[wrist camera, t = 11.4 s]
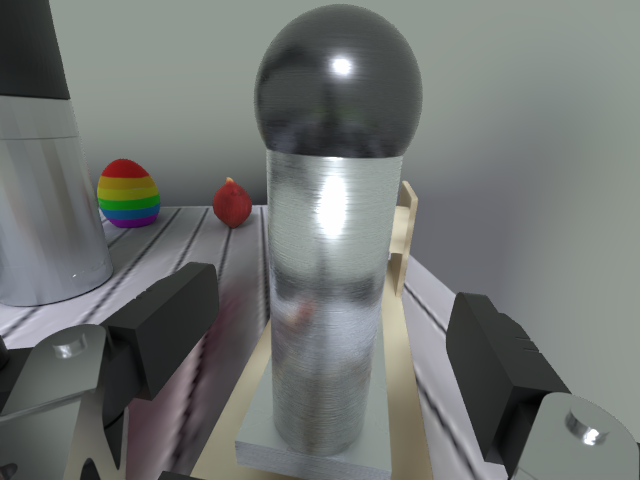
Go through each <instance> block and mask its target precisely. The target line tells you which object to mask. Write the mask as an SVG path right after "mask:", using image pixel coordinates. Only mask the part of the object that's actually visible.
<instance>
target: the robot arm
mask: <svg viewBox="0 0 640 480" xmlns="http://www.w3.org/2000/svg"><path fill="white" fill-rule="evenodd" d="M68 99H70V95H69V91H68V87H67V83H66V79H65V74H64V69H63V64H62V59H61V55H60V51H59V46H58V43H57V38H56V34H55V29H54V25H53V20H52V15H51V11H50V5H49V0H0V303H2V304H4V305H10V306H34V305H42V304H48V303H53V302H57V301H61V300H65V299H68V298H71V297H74V296H77V295H80V294H83V293H85V292H87V291H90V290H92V289H94V288H96V287H97V286H99V285H101V284H102V283H104V282H105V281H106V280H107V279H108V278H109V277H110V276H111V275H112V273H113V266H112V262H111V258H110V254H109V250H108V246H107V242H106V238H105V234H104V230H103V226H102V222H101V218H100V214H99V210H98V206H97V202H96V198H95V194H94V190H93V186H92V182H91V178H90V174H89V170H88V166H87V162H86V158H85V154H84V150H83V147H82V142H81V139H80V136H79V131H78V127H77V123H76V119H75V115H74V111H73V107H72V103H71V101H70V100H68ZM218 311H219V295H218V285H217V276H216V269H215V266H214V265H213V264H207V263H198V262H189V263H187V264H186V265H185V266H184V267H182V268H181V269H180V270H178V271H177V272H176V273H175V274H172V275H170V276H168V277H165V278H163V279H161V280H158V281H157V282H155V283H154V284H153V285H151V286H150V287H149V288H147V289H146V291H143V292H142V293H141V294H139V295H138V296H137V297H136V299H133V300H131V301H130V302H129V303H127V304H126V305H125V306H123V307H122V308H120V309H119V310H118V311H116V312H115V313H114V314H112V315H111V316H110V317H108V318H107V319H106V320H104V321H103V322H102V323H100V324H99V325H95V324H84V325H77V326H73V327H69V328H66V329H63V330H61V331H58V332H56V333H54V334H52V335H50V336H48V337H47V338H45V339H44V340H42V341H41V342H39V343H38V344H37V345H36V346H35V347H30V348H20V349H9V350H7V348H6V346H5V344H4V342H3V339H2V337H1V335H0V480H125V473H126V455H127V438H128V420H129V411H128V408H127V405H128V404H129V403H130V402H131V401H132V399H133V398H138V399H144V400H150V401H152V400H153V399H154V398H155V396H156V395H157V394H158V392H159V391H160V390H161V389H162V387H163V386H164V385H165V383H166V382H167V381H168V380H169V378H170V377H171V376H172V375H173V373H174V372H175V371H176V369H177V368H178V367H179V366H180V364H181V363H182V362H183V360H184V359H185V358H186V357H187V355H188V354H189V353H190V351H191V350H192V349H193V348H194V346H195V345H196V344H197V343H198V341H199V340H200V339H201V337H202V336H203V335H204V334H205V332H206V331H207V330H208V328H209V327H210V326H211V325H212V323H213V322H214V321H215V319H216V317H217V314H218ZM446 350H447V354H448V357H449V360H450V363H451V366H452V369H453V372H454V375H455V377H456V380H457V383H458V386H459V389H460V392H461V395H462V398H463V401H464V404H465V407H466V409H467V412H468V415H469V418H470V421H471V424H472V427H473V430H474V433H475V436H476V438H477V441H478V444H479V447H480V450H481V453H482V456H483V459H484V462H490V463H496V464H501V465H504V466H505V469H506V471H507V474H508V479H507V480H640V443H637V442H636V441H635V439H634V437H633V436H632V435H631V433H630V432H629V431H628V429H627V428H626V427H625V426H624V425H623V424H622V423H621V422H620V421H618V420H617V419H616V418H615V417H614V416H612V415H611V414H610V413H608V412H607V411H605V410H604V409H602V408H601V407H599V406H597V405H596V404H594V403H592V402H590V401H588V400H586V399H583V398H581V397H578V396H575V395H572V393H571V392H570V391H569V389H568V388H567V387H566V386H565V384H564V383H563V381H562V380H561V379H560V377H559V376H558V375H557V373H556V372H555V371H554V369H553V368H552V367H551V365H550V364H549V363H548V361H547V360H546V359H545V358H544V356H543V355H542V353H539V350H538V348H537V347H536V346H535V344H534V343H533V342H532V341H530V338H529V336H528V335H527V334H526V332H525V331H524V330H523V328H522V327H521V326H520V325H519V324H518V323H516V322H515V321H514V320H512V319H511V318H510V317H508V316H507V315H506V314H504V313H498V311H497V310H496V308H495V307H494V305H493V304H492V302H491V301H490V300H489V298H488V297H487V296H486V295H480V294H472V293H462V292H459V293H458V294H457V295H456V297H455V301H454V305H453V309H452V313H451V317H450V321H449V325H448V329H447V333H446ZM158 480H205V479H200V478H195V477H190V476H186V475H181V474H176V473H171V472H167V471H163V472H162V473H161V475H160V477H159V478H158Z"/></svg>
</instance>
